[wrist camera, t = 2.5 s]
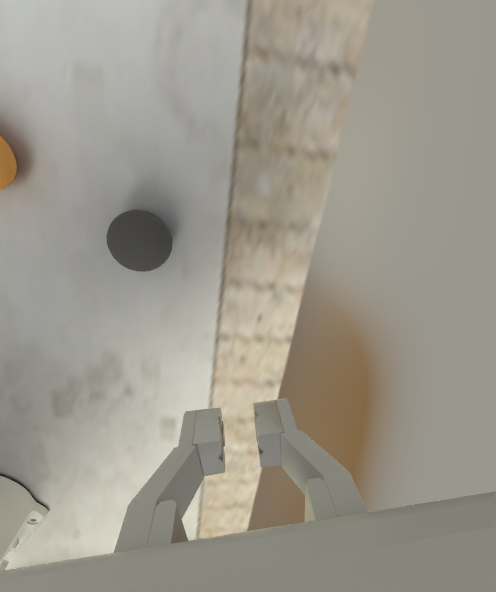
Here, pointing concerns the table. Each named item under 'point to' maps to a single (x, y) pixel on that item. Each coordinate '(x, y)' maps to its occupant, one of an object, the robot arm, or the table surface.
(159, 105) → the table surface
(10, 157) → the orange ball
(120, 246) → the black ball
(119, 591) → the robot arm
